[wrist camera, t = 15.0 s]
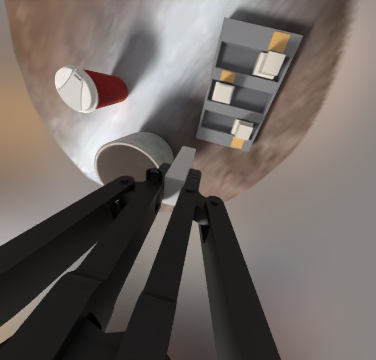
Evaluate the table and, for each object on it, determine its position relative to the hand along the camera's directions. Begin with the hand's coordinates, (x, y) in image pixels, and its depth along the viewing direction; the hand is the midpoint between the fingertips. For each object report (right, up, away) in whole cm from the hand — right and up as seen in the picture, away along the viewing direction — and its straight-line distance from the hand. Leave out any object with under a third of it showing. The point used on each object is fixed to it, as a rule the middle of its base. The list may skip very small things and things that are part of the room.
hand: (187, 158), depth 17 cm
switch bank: (+12, +17, +17) cm, 27 cm away
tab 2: (+13, +11, +20) cm, 26 cm away
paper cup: (-18, +21, +21) cm, 35 cm away
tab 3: (+16, +20, +13) cm, 29 cm away
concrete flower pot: (-11, +6, +29) cm, 32 cm away
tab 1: (+8, +17, +16) cm, 25 cm away
